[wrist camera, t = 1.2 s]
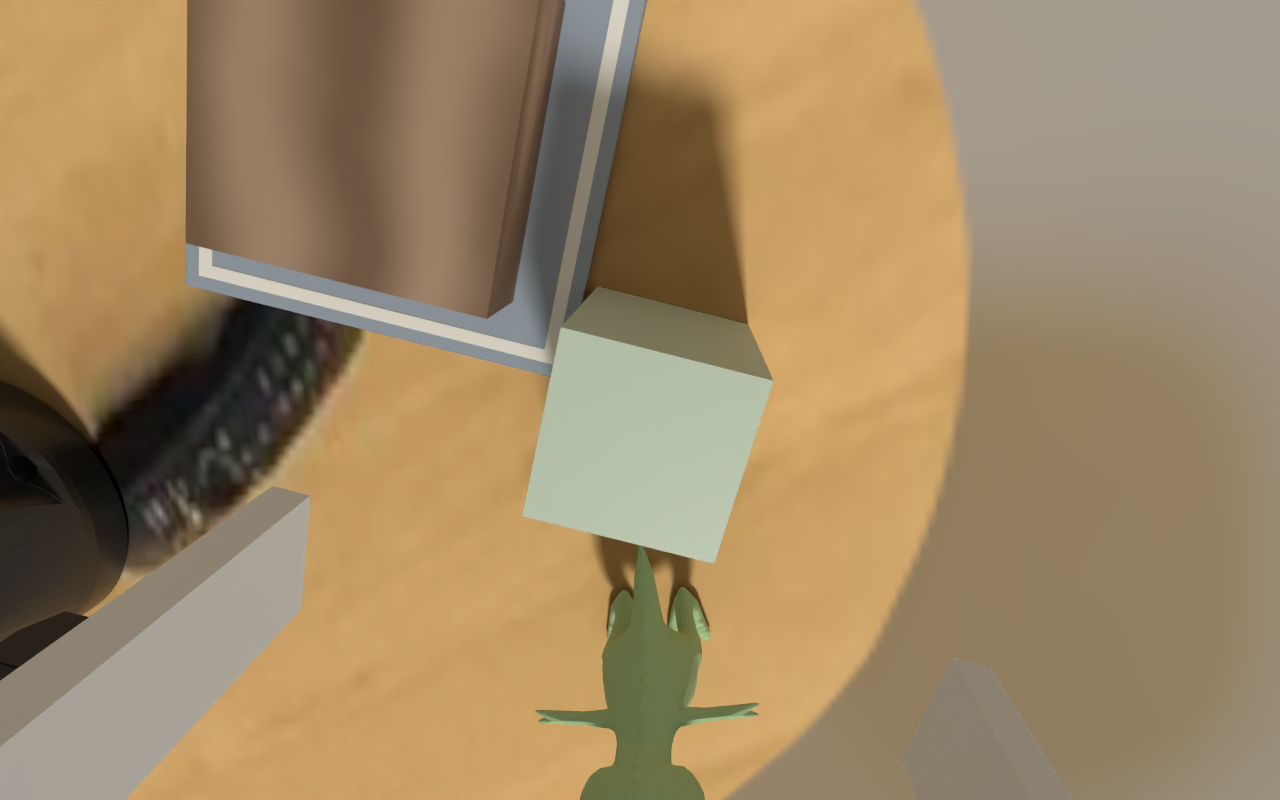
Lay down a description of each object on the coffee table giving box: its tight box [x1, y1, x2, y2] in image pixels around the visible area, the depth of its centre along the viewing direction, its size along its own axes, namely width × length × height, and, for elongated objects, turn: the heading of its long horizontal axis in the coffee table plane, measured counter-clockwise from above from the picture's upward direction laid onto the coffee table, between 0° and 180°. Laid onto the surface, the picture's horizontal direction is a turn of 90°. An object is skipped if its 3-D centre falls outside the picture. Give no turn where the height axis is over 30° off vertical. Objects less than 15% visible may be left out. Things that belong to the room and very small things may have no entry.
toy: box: [535, 545, 759, 800], centre depth 27 cm, size 7×8×15 cm
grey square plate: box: [186, 0, 647, 377], centre depth 27 cm, size 18×18×1 cm
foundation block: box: [186, 0, 566, 319], centre depth 25 cm, size 12×12×4 cm
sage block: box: [522, 286, 773, 564], centre depth 26 cm, size 7×7×9 cm
